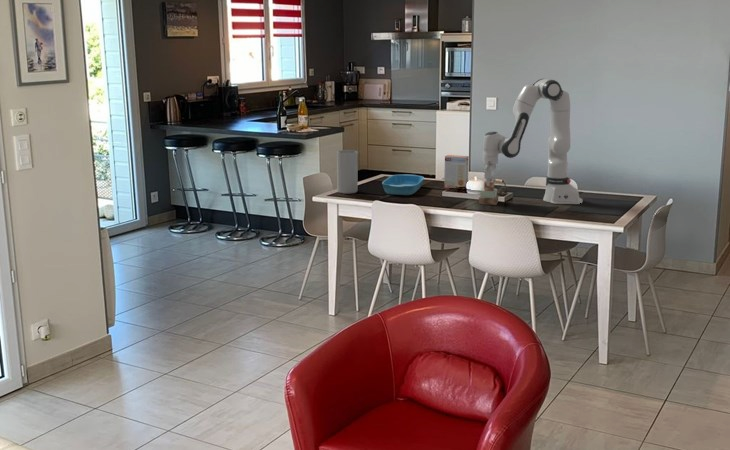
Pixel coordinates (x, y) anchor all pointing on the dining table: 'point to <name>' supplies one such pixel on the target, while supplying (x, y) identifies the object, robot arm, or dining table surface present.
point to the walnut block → (489, 200)
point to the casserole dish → (402, 184)
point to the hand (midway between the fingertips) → (489, 184)
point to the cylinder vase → (347, 171)
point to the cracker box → (456, 171)
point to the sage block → (488, 193)
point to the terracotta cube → (489, 188)
